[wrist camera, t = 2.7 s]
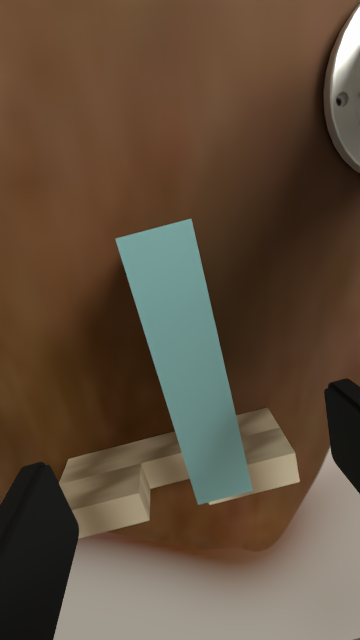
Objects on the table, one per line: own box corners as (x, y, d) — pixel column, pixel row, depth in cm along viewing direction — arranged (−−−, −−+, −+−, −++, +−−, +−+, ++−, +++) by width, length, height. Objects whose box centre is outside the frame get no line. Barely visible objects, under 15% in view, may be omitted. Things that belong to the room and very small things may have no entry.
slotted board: (267, 407, 28) (295, 452, 22) (271, 431, 29) (299, 481, 23) (68, 458, 28) (45, 517, 22) (79, 481, 29) (59, 543, 23)
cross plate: (137, 234, 22) (115, 238, 11) (174, 224, 22) (191, 218, 11) (181, 387, 27) (198, 504, 15) (212, 379, 27) (253, 490, 15)
